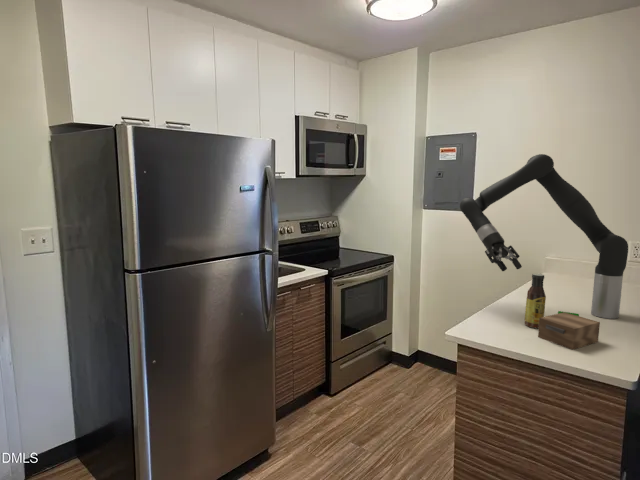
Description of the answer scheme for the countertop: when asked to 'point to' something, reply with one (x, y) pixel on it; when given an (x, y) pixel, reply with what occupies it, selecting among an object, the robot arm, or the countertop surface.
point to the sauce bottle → (535, 302)
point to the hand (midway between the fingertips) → (512, 269)
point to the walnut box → (568, 330)
